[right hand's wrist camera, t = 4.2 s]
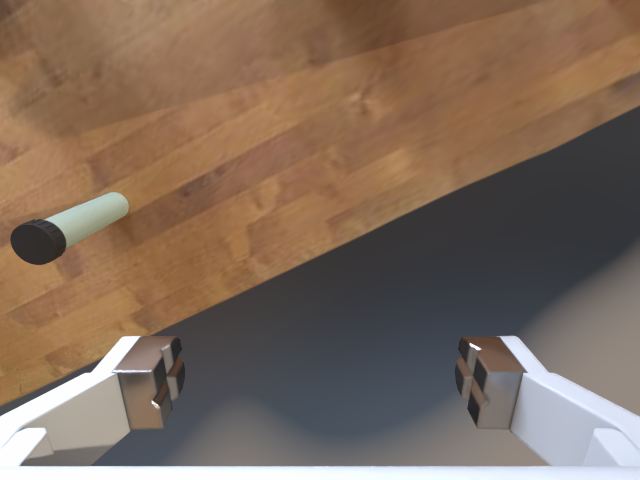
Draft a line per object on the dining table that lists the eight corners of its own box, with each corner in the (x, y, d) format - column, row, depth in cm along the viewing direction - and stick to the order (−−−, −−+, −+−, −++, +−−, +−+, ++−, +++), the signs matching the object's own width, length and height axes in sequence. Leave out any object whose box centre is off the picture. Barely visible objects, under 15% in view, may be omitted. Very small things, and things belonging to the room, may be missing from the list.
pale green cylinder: (100, 191, 58) (13, 224, 41) (127, 193, 58) (51, 227, 41) (104, 216, 59) (20, 259, 43) (130, 218, 59) (57, 262, 43)
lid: (19, 216, 43) (5, 222, 41) (63, 220, 43) (51, 225, 41) (27, 256, 44) (14, 263, 42) (70, 260, 44) (59, 267, 43)
